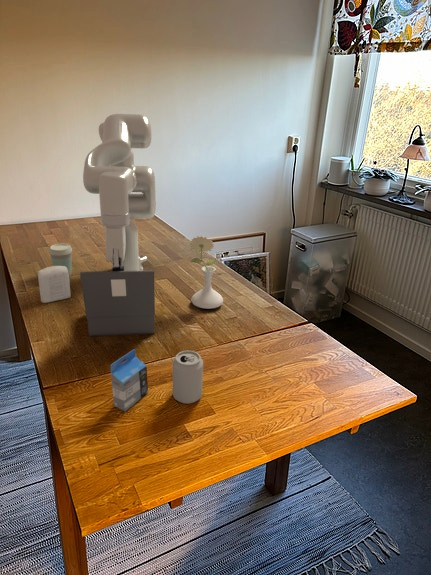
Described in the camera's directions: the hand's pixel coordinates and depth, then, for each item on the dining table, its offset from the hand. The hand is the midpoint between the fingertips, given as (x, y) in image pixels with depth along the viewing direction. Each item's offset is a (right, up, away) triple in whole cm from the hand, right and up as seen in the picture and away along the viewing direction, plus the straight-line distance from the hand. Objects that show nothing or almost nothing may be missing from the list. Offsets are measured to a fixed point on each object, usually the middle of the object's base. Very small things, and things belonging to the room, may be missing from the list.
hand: (118, 279), depth 131 cm
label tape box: (+7, -30, -18) cm, 36 cm away
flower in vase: (+24, -8, +31) cm, 40 cm away
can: (+21, -30, -16) cm, 40 cm away
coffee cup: (-32, +2, +48) cm, 57 cm away
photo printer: (-28, -6, +29) cm, 41 cm away
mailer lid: (0, -4, +1) cm, 4 cm away
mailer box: (-2, -14, +16) cm, 21 cm away
